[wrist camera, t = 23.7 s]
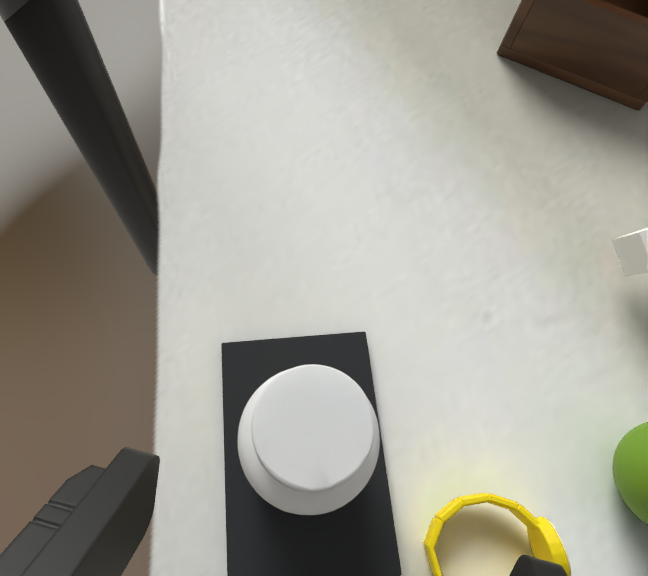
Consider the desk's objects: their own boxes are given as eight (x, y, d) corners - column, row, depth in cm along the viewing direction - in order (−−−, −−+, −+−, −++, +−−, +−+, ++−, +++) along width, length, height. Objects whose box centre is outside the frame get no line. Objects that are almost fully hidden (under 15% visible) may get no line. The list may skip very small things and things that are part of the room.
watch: (443, 642, 23) (567, 620, 23) (454, 662, 20) (594, 637, 20) (413, 504, 25) (526, 484, 25) (420, 506, 22) (546, 484, 22)
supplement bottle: (362, 407, 25) (405, 358, 16) (349, 520, 23) (390, 535, 14) (260, 390, 25) (248, 332, 16) (238, 502, 23) (209, 505, 14)
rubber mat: (222, 346, 27) (221, 342, 26) (363, 334, 28) (365, 331, 27) (229, 597, 22) (228, 599, 21) (399, 573, 23) (401, 575, 22)
